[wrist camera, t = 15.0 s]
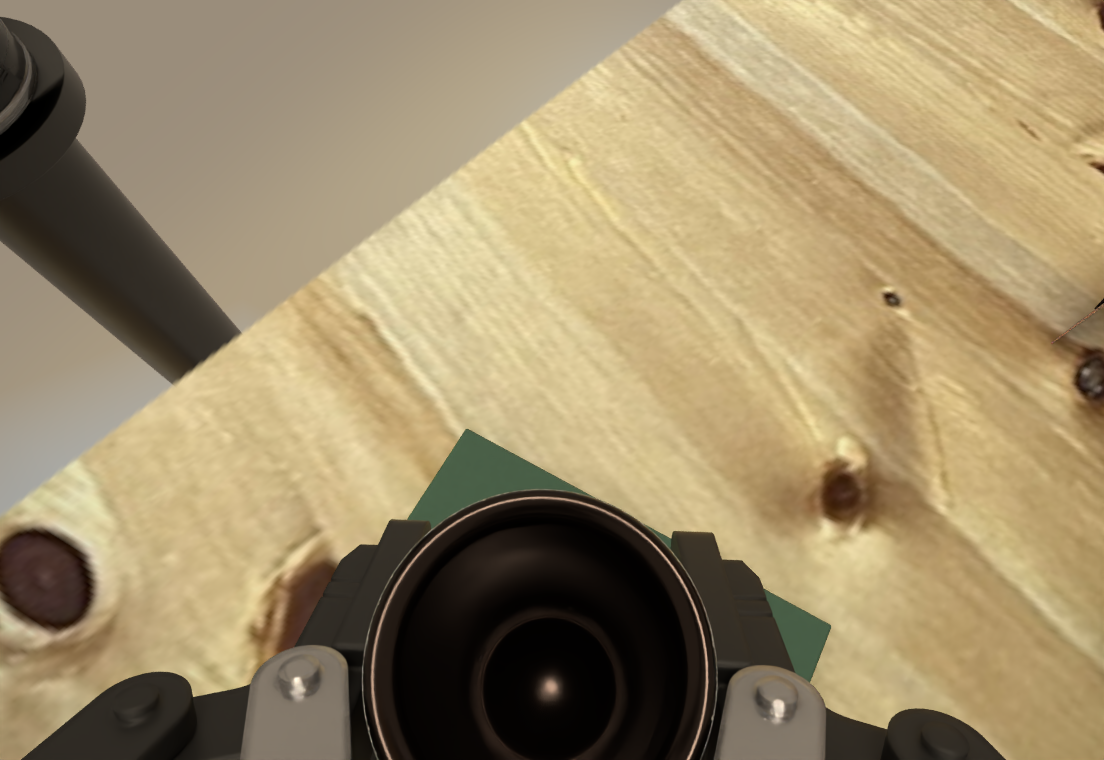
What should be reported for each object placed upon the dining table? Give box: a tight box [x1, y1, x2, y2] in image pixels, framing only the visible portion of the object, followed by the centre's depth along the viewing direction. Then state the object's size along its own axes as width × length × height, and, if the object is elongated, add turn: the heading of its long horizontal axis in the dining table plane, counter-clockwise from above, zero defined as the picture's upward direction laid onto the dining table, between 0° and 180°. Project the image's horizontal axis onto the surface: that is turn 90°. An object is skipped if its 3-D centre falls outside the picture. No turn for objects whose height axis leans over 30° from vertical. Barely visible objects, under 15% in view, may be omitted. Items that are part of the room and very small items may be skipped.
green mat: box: [407, 429, 831, 683], centre depth 23 cm, size 14×12×1 cm
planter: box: [362, 489, 718, 760], centre depth 14 cm, size 4×4×10 cm
